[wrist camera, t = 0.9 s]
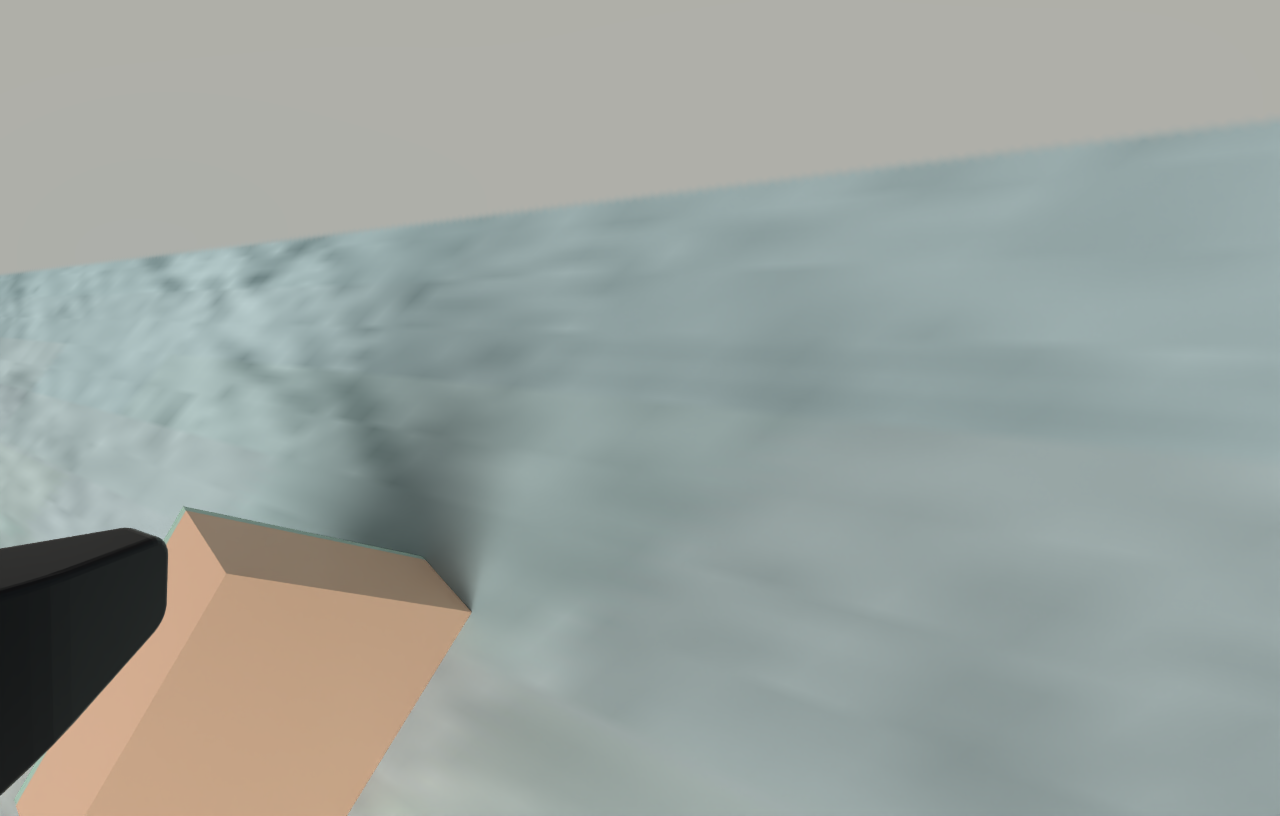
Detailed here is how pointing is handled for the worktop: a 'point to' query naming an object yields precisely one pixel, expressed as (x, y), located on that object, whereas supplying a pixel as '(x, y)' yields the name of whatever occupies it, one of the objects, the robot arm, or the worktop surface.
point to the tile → (256, 680)
